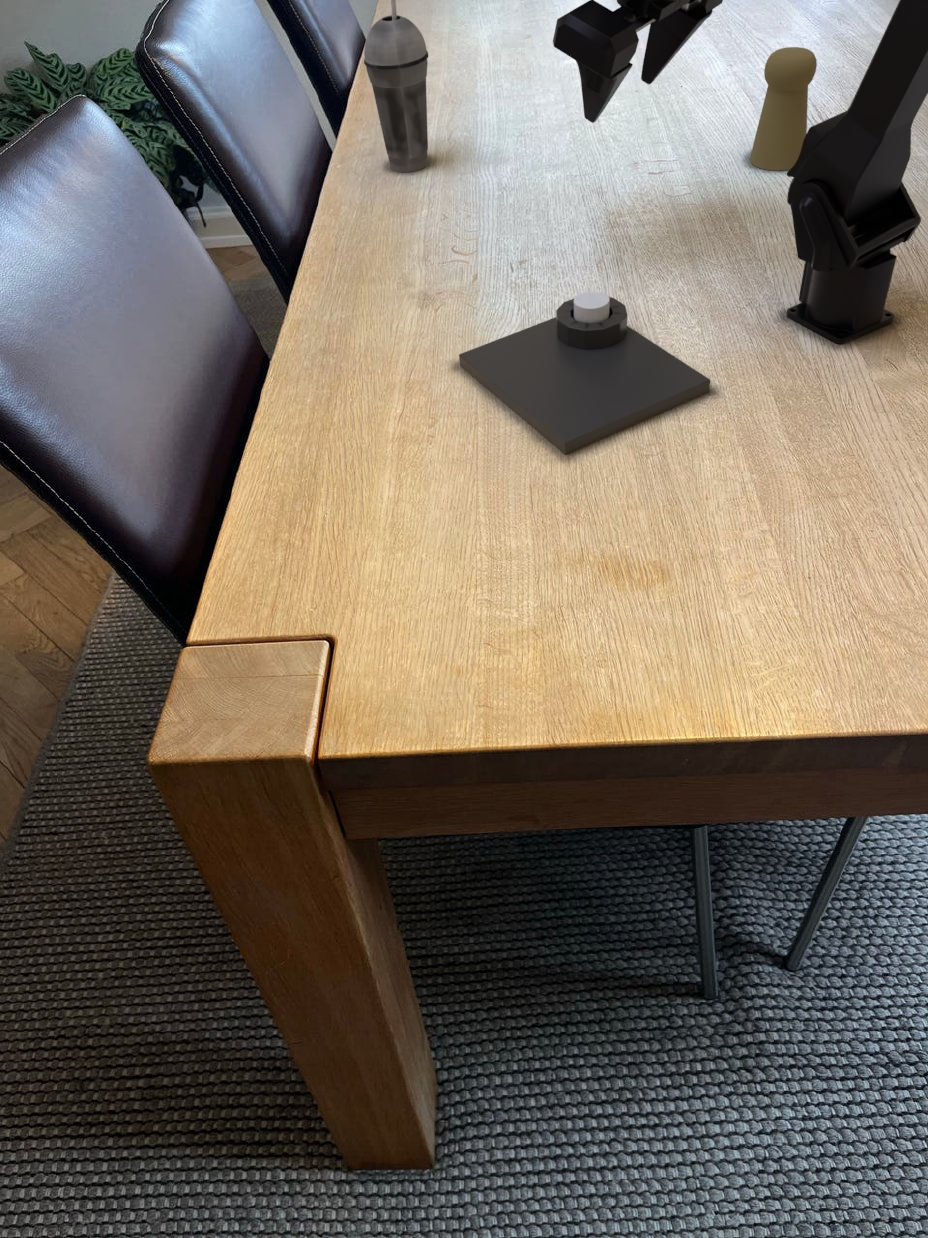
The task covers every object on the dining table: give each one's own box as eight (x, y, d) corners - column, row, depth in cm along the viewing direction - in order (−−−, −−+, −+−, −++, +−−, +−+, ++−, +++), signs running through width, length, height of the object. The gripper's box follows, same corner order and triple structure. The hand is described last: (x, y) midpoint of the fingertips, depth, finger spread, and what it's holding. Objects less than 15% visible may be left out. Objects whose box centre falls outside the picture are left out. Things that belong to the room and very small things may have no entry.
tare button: (616, 317, 82) (616, 300, 81) (587, 328, 81) (587, 311, 80) (595, 303, 84) (595, 287, 83) (566, 314, 83) (566, 298, 82)
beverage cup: (367, 172, 116) (337, -24, 101) (398, 149, 120) (373, -42, 106) (420, 179, 113) (397, -21, 98) (450, 155, 117) (432, -40, 103)
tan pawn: (806, 170, 106) (825, 58, 98) (749, 170, 107) (762, 60, 99) (804, 148, 110) (822, 39, 102) (749, 149, 111) (762, 41, 103)
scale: (709, 392, 78) (713, 359, 76) (565, 455, 74) (564, 422, 71) (592, 314, 88) (592, 283, 86) (459, 366, 84) (456, 335, 82)
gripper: (654, -158, 84) (608, 24, 97) (520, -93, 76) (491, 97, 89) (760, -102, 81) (698, 78, 95) (633, -27, 73) (585, 158, 87)
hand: (618, 100), depth 91 cm, fingers open, 9 cm apart
